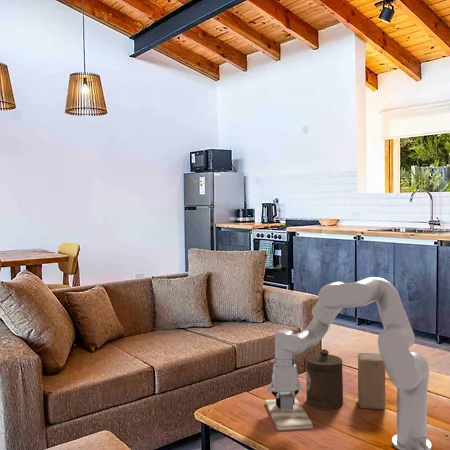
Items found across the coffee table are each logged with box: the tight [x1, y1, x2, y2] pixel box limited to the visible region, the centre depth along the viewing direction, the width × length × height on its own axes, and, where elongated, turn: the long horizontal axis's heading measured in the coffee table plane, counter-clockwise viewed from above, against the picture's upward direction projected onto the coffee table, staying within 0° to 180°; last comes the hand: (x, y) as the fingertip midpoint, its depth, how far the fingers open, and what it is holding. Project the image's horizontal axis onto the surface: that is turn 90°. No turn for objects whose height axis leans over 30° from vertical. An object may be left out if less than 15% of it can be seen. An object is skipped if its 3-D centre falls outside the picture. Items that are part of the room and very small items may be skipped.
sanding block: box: [280, 391, 293, 411], centre depth 198 cm, size 8×4×5 cm, turn 7°
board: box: [264, 397, 314, 431], centre depth 194 cm, size 24×13×2 cm, turn 6°
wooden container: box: [305, 349, 344, 410], centre depth 205 cm, size 15×15×22 cm
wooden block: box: [357, 352, 386, 410], centre depth 202 cm, size 10×10×20 cm
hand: (285, 406), depth 198 cm, fingers closed on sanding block, 4 cm apart
